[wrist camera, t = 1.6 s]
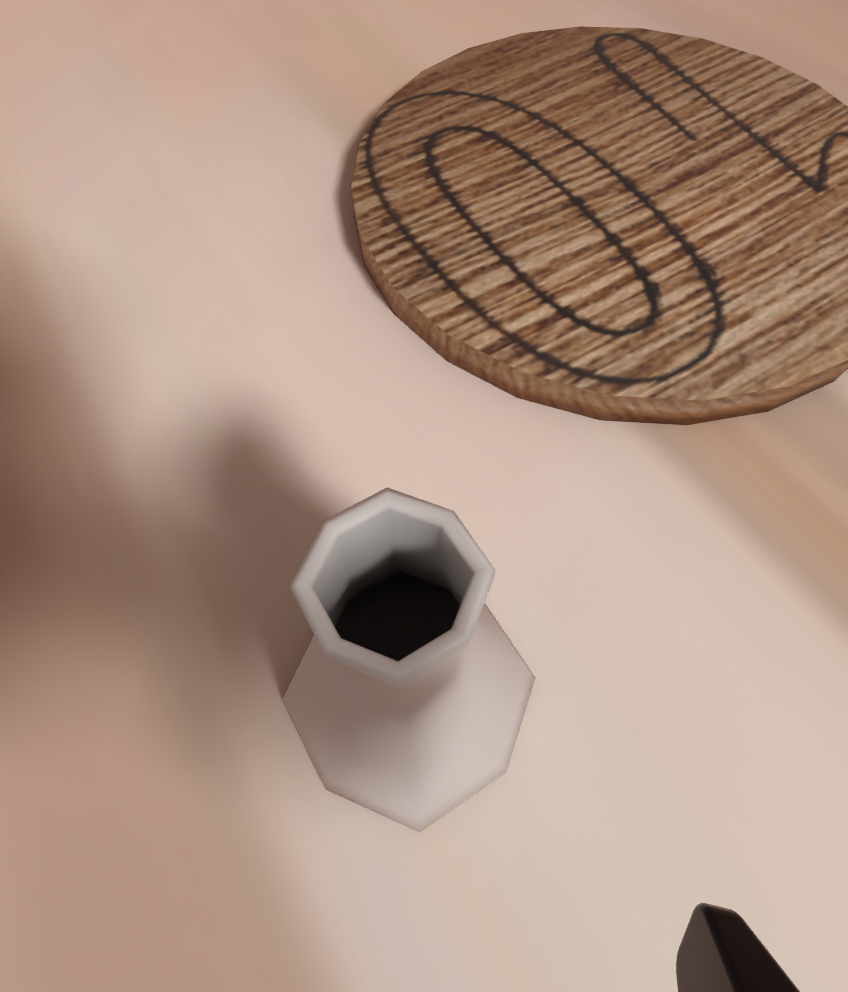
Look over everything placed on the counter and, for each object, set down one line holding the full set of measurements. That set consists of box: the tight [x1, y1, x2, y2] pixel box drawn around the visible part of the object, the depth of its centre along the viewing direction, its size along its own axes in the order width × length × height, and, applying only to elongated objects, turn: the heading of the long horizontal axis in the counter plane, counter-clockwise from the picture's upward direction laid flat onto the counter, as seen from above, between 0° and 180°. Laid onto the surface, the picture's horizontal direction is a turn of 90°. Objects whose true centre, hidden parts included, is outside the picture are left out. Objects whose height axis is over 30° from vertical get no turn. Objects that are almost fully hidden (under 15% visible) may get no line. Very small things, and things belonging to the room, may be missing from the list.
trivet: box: [351, 27, 848, 425], centre depth 29 cm, size 25×25×2 cm
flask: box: [282, 488, 535, 832], centre depth 15 cm, size 7×7×10 cm
